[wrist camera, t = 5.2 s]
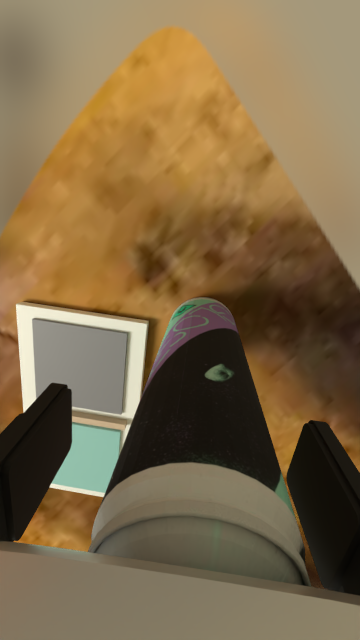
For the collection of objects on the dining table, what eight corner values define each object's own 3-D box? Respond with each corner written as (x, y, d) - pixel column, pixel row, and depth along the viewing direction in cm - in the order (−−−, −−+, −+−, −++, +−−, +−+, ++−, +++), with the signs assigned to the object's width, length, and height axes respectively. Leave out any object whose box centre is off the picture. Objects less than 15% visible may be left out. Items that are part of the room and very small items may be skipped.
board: (148, 320, 23) (145, 327, 22) (132, 494, 30) (128, 508, 28) (22, 301, 24) (10, 306, 22) (33, 477, 30) (24, 489, 29)
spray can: (221, 286, 22) (326, 688, 3) (244, 345, 23) (420, 877, 4) (158, 311, 23) (-67, 721, 4) (185, 366, 24) (112, 861, 5)
